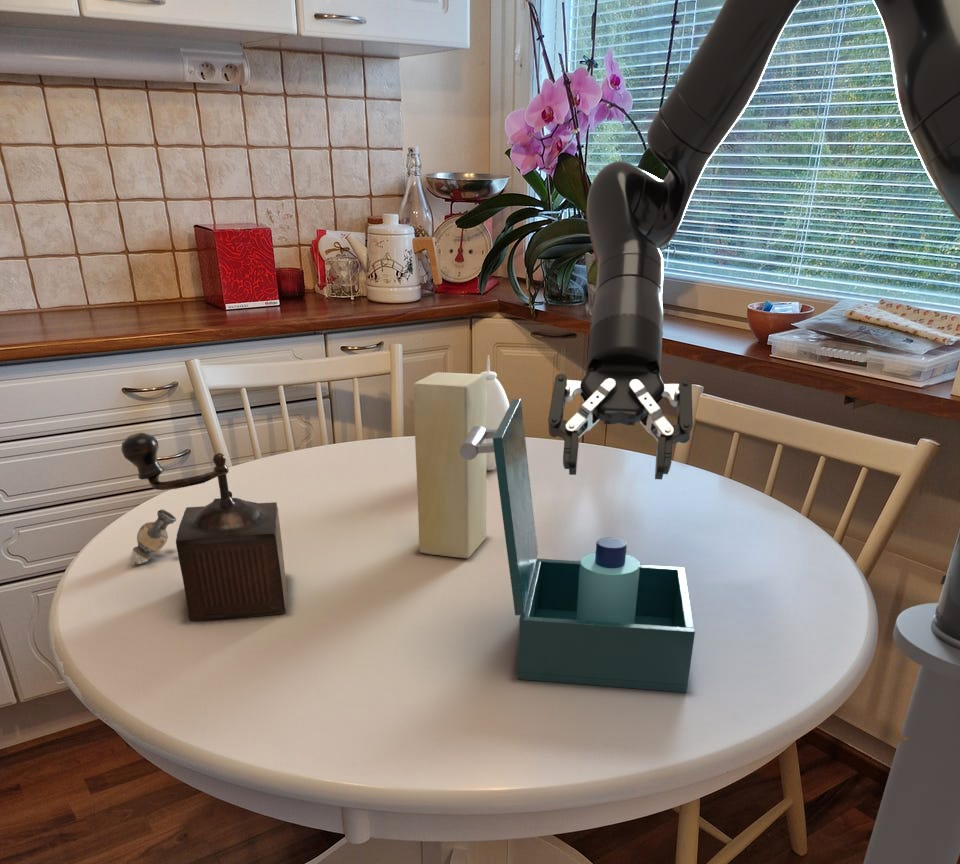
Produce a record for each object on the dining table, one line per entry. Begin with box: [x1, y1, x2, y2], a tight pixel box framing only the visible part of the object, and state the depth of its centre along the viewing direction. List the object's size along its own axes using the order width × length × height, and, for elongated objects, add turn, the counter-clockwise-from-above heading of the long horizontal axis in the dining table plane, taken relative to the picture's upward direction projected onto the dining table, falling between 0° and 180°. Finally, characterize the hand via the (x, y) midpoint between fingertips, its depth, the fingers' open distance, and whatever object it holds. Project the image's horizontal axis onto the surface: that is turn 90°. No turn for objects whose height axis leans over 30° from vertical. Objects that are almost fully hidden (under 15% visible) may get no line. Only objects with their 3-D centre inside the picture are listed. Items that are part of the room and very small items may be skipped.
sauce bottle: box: [479, 354, 510, 471], centre depth 135 cm, size 8×8×18 cm
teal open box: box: [517, 558, 696, 693], centre depth 84 cm, size 16×15×6 cm
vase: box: [129, 509, 177, 565], centre depth 104 cm, size 5×5×6 cm
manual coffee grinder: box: [120, 432, 288, 622], centre depth 91 cm, size 16×11×18 cm
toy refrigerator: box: [412, 371, 487, 559], centre depth 104 cm, size 8×7×21 cm
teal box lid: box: [460, 398, 539, 616], centre depth 80 cm, size 16×15×5 cm
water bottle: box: [576, 536, 641, 624], centre depth 81 cm, size 6×6×11 cm
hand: (615, 473), depth 84 cm, fingers open, 8 cm apart
